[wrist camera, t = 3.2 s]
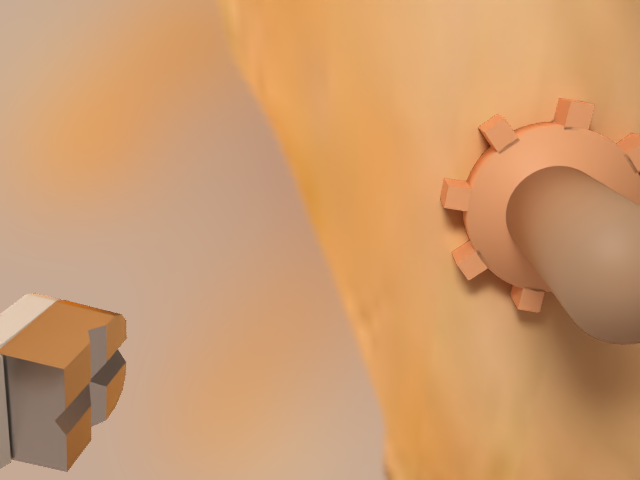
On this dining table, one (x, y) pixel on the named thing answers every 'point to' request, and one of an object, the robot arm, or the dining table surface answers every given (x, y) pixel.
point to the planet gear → (557, 219)
